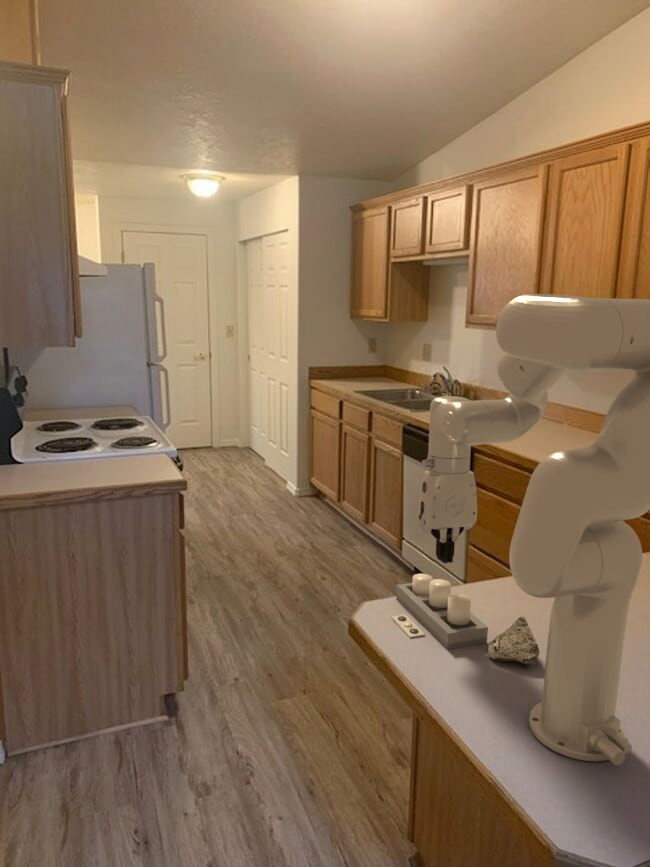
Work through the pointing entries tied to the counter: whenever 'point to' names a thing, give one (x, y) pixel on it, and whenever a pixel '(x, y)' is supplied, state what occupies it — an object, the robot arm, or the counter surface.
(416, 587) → the button far
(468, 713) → the counter surface
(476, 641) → the button board
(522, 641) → the rock sample
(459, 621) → the button near
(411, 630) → the card
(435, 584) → the button mid
